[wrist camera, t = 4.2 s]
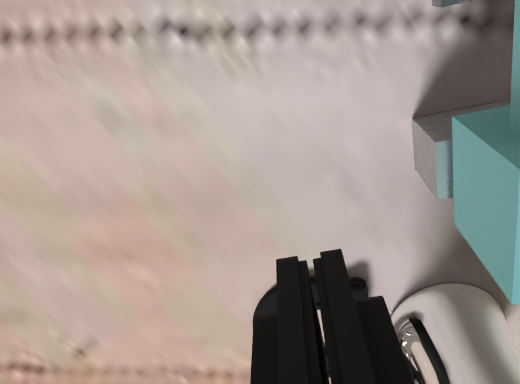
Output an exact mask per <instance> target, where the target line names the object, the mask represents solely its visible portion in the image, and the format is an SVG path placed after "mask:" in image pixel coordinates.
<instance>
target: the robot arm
mask: <svg viewBox="0 0 520 384" xmlns="http://www.w3.org/2000/svg"><path fill="white" fill-rule="evenodd" d="M320 255H321V258H317V259H313V264H314V271H315V277H316V284H317V291H318V297H319V304H320V311H321V318H322V324H323V331H324V338H325V344H326V351H327V358H328V365H329V371H330V378H331V384H414V382H413V379H412V377H411V374H410V371H409V368H408V365H407V362H406V360H405V357H404V354H403V351H402V348H401V346H400V343H399V340H398V337H397V334H396V331H395V329H394V326H393V323H392V320H391V317H390V314H389V312H388V309H387V306H386V303H385V301H384V298H383V297H382V296H377V297H370V298H364V299H357V300H354V297H353V293H352V289H351V285H350V281H349V277H348V274H347V270H346V266H345V262H344V258H343V254H342V251H341V249H336V250H330V251H324V252H320ZM276 271H277V312H271V313H264V314H257V315H255V317H254V324H253V344H252V363H251V383H250V384H329V378H328V371H327V364H326V357H325V350H324V344H323V338H322V333H321V328H320V323H319V319H318V314H317V309H316V304H315V299H314V294H313V290H312V285H311V280H310V275H309V270H308V265H307V261H306V260H304V261H298V257H297V256H294V257H288V258H282V259H277V260H276Z"/></svg>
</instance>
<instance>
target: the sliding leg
mask: <svg viewBox="0 0 520 384" xmlns="http://www.w3.org/2000/svg"><path fill="white" fill-rule="evenodd" d="M452 141H453V199H454V224H455V226H456V227H457V228H458V230H459V231H460V233H461V234H462V235H463V237H464V238H465V240H466V241H467V242H468V244H469V245H470V247H471V248H472V249H473V251H474V252H475V254H476V255H477V256H478V258H479V259H480V261H481V262H482V263H483V265H484V266H485V268H486V269H487V270H488V272H489V273H490V275H491V276H492V277H493V279H494V280H495V282H496V283H497V284H498V286H499V287H500V289H501V290H502V291H503V293H504V294H505V296H506V297H507V298H508V300H509V301H510V303H511V304H512V305H513V304H520V0H515V10H514V32H513V55H512V77H511V99H510V105H508V106H503V107H498V108H492V109H487V110H482V111H477V112H471V113H466V114H461V115H456V116H452Z"/></svg>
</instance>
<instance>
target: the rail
mask: <svg viewBox="0 0 520 384" xmlns="http://www.w3.org/2000/svg"><path fill="white" fill-rule="evenodd" d="M508 105H510V100H506V101H501V102H495V103H490V104H485V105H480V106H475V107H469V108H464V109H459V110H454V111H449V112H443V113H438V114H433V115H428V116H422V117H417V118H412V124H413V141H414V157H415V169H416V171H417V172H418V174H419V175H420V176H421V178H422V179H423V181H424V182H425V183H426V185H427V186H428V188H429V189H430V190H431V192H432V193H433V195H434V196H435V197H436V199H437V200H440V199H446V198H452V197H453V141H452V116H456V115H461V114H466V113H471V112H477V111H482V110H487V109H492V108H498V107H503V106H508Z"/></svg>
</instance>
